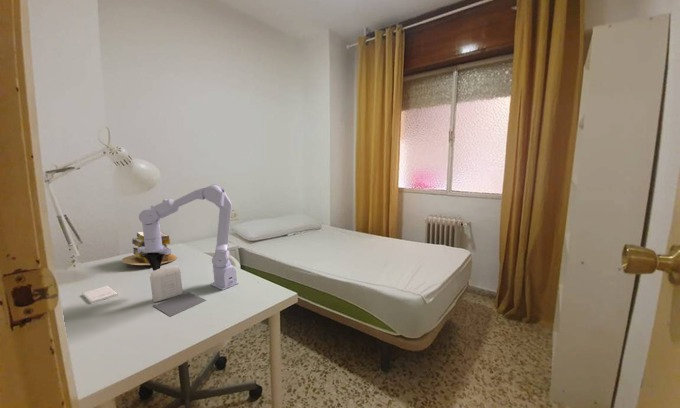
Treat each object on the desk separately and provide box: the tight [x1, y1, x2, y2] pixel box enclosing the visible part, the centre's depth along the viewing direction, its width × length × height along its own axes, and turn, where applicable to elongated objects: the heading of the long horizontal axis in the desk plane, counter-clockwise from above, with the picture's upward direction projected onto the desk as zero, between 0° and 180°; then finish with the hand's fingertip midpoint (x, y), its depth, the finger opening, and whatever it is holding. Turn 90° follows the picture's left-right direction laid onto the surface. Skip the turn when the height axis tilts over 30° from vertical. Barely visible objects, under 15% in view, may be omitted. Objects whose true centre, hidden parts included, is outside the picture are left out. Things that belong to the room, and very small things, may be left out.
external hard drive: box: [81, 285, 118, 305], centre depth 107 cm, size 2×8×12 cm
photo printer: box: [149, 265, 184, 303], centre depth 104 cm, size 10×4×12 cm, turn 134°
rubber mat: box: [152, 291, 207, 318], centre depth 100 cm, size 13×13×1 cm
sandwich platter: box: [121, 231, 178, 266], centre depth 144 cm, size 25×25×17 cm
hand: (156, 269), depth 108 cm, fingers closed
